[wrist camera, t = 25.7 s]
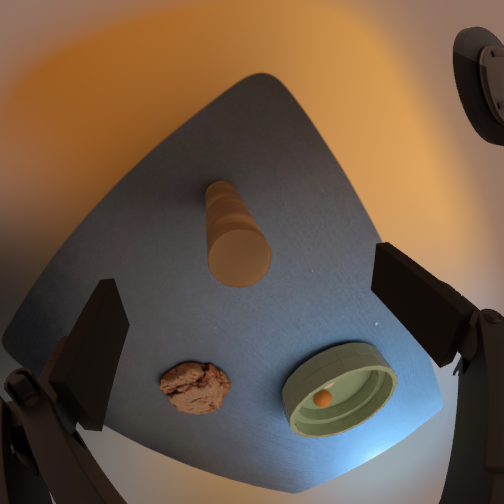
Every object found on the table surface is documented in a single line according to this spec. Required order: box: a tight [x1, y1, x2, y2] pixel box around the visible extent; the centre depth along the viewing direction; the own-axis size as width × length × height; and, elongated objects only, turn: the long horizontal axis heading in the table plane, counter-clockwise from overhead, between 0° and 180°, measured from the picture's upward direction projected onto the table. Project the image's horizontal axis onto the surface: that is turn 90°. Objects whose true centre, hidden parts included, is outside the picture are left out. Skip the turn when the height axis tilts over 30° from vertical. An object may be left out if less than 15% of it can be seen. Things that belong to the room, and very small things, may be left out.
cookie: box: [160, 363, 231, 414], centre depth 36 cm, size 10×11×3 cm
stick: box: [205, 180, 272, 287], centre depth 21 cm, size 3×3×15 cm
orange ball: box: [313, 390, 332, 407], centre depth 40 cm, size 3×3×3 cm
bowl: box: [282, 343, 397, 438], centre depth 39 cm, size 18×18×6 cm
